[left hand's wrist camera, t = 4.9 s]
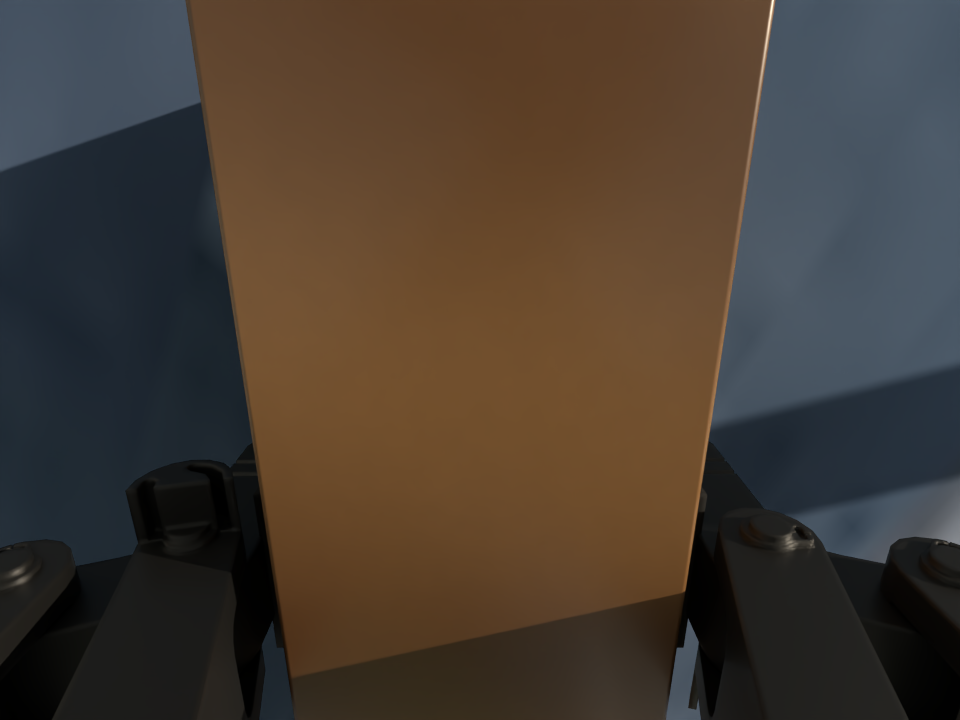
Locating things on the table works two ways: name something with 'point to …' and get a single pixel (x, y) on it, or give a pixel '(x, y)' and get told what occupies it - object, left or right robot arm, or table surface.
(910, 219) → the table surface
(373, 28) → the post
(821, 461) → the table surface
